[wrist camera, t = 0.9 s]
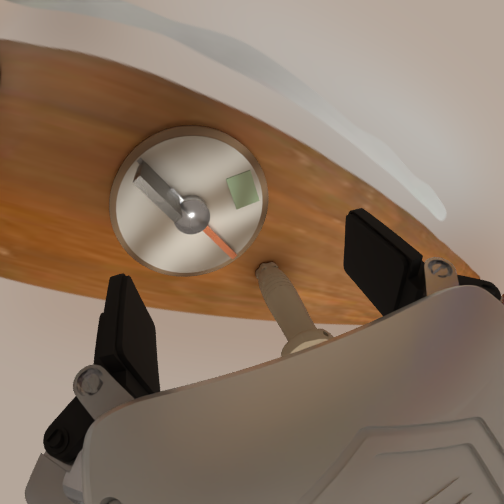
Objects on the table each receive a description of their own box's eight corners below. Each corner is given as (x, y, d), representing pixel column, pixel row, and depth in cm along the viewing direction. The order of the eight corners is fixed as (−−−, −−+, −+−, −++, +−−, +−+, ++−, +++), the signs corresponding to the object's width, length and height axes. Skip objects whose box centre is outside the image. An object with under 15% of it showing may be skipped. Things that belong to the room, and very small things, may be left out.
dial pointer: (245, 243, 33) (259, 270, 28) (221, 263, 33) (231, 292, 29) (155, 149, 24) (152, 163, 20) (127, 175, 25) (120, 194, 20)
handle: (274, 289, 41) (319, 372, 29) (237, 277, 38) (275, 368, 26) (293, 263, 40) (348, 343, 28) (256, 248, 37) (306, 335, 24)
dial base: (288, 205, 34) (297, 213, 32) (184, 289, 37) (187, 302, 35) (199, 91, 25) (202, 91, 23) (82, 204, 27) (76, 213, 25)
